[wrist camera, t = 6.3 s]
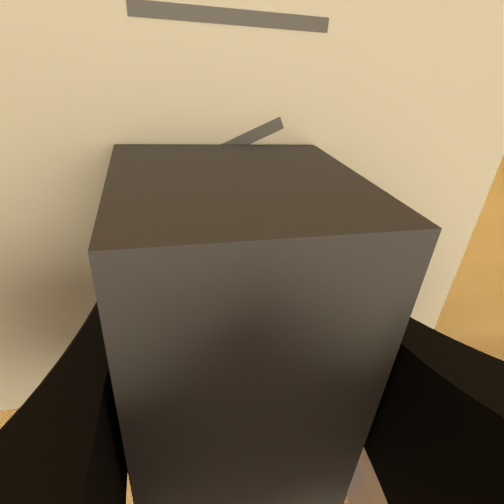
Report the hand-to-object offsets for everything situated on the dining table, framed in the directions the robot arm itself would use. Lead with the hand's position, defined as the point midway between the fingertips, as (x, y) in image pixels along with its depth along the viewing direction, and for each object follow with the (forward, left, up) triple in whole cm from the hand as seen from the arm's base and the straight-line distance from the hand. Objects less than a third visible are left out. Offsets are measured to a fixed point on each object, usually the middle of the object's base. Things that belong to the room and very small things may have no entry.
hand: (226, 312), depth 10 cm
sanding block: (0, 0, -1) cm, 1 cm away
